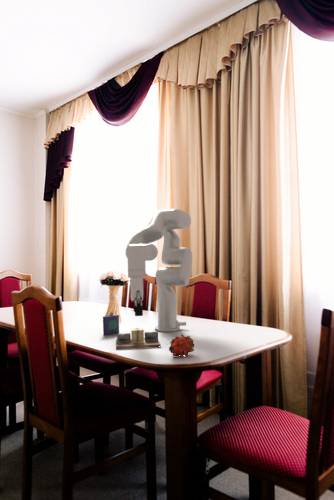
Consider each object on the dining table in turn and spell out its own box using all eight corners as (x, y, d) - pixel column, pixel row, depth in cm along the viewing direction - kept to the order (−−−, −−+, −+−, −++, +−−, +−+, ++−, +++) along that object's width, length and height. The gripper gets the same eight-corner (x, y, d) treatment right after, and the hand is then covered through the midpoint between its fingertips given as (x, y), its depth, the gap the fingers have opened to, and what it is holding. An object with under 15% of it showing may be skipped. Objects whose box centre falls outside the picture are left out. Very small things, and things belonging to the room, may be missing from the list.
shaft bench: (156, 339, 168) (156, 328, 168) (160, 347, 154) (160, 335, 154) (115, 341, 166) (115, 330, 166) (116, 349, 152) (116, 336, 152)
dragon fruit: (195, 357, 145) (173, 368, 137) (181, 341, 149) (158, 351, 141) (203, 342, 140) (180, 353, 132) (188, 326, 145) (165, 336, 137)
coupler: (131, 342, 158) (131, 330, 158) (131, 340, 162) (131, 328, 162) (143, 342, 158) (143, 329, 159) (143, 339, 163) (142, 328, 163)
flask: (116, 332, 186) (116, 310, 186) (120, 333, 184) (120, 311, 184) (101, 335, 179) (101, 312, 179) (105, 336, 177) (105, 313, 177)
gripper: (127, 272, 169) (128, 310, 169) (128, 275, 151) (130, 318, 152) (143, 271, 170) (145, 309, 170) (147, 275, 153) (148, 317, 153)
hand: (138, 313), depth 161 cm, fingers open, 9 cm apart
